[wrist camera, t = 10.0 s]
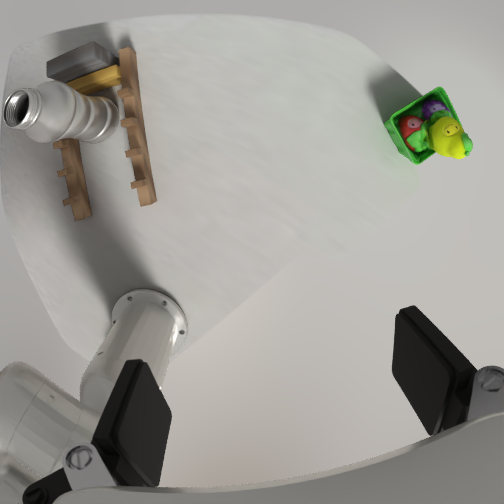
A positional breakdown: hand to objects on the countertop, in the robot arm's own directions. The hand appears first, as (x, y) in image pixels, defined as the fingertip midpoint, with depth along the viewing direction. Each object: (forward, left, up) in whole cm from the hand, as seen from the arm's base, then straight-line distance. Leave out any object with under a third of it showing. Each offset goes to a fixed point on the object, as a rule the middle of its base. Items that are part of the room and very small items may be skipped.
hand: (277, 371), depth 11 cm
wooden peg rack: (-3, +23, -33) cm, 40 cm away
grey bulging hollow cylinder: (-2, +24, -33) cm, 41 cm away
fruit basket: (+25, -12, -33) cm, 43 cm away
